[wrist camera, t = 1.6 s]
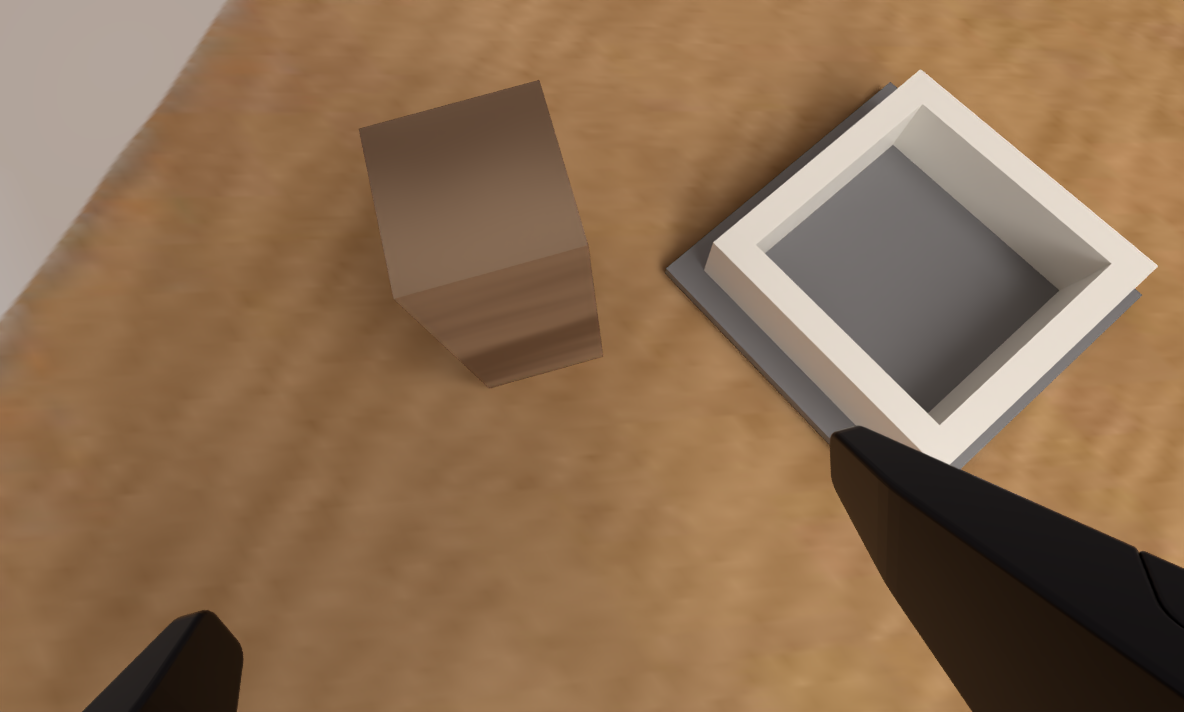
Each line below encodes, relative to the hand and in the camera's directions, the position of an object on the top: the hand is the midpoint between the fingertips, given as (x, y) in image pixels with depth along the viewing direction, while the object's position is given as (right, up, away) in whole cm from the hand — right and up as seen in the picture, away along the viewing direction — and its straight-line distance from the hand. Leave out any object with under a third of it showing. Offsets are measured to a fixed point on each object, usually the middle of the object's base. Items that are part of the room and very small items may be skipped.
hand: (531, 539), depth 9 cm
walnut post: (-1, +4, +15) cm, 16 cm away
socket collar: (+12, +5, +15) cm, 20 cm away
